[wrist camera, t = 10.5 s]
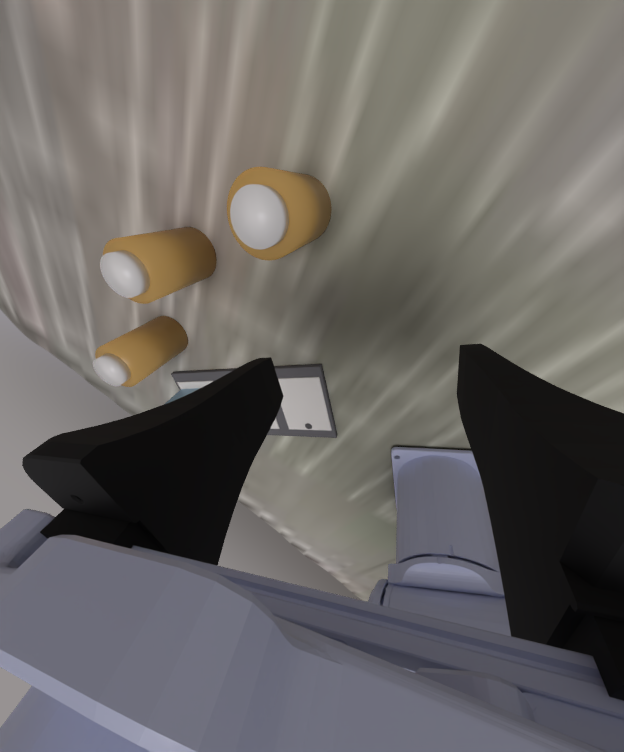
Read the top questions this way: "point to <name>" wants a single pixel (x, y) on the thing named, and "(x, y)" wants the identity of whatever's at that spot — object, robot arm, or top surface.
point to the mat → (285, 399)
